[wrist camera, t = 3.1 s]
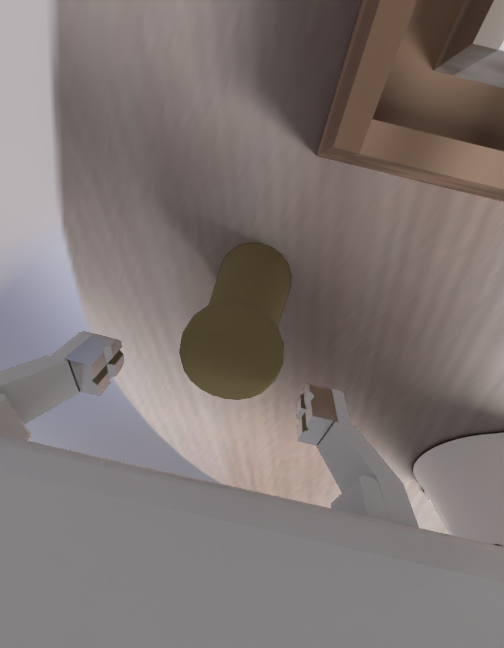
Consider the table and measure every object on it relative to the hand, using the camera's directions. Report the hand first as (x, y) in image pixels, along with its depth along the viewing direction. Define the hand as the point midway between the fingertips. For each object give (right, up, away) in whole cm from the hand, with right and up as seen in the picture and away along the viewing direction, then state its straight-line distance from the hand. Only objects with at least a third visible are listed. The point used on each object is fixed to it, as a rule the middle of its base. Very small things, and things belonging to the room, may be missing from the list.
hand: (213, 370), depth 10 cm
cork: (+2, +6, +10) cm, 11 cm away
